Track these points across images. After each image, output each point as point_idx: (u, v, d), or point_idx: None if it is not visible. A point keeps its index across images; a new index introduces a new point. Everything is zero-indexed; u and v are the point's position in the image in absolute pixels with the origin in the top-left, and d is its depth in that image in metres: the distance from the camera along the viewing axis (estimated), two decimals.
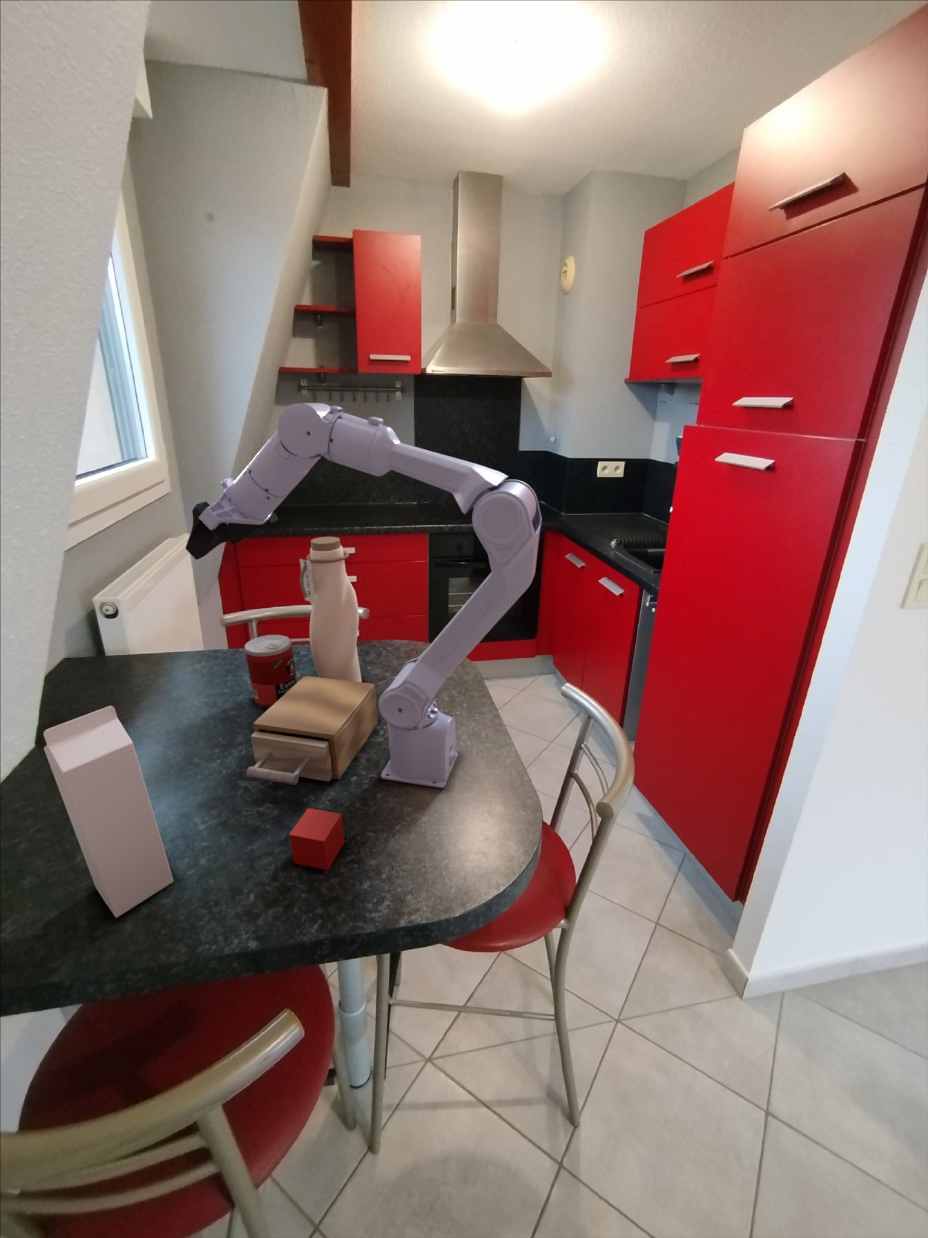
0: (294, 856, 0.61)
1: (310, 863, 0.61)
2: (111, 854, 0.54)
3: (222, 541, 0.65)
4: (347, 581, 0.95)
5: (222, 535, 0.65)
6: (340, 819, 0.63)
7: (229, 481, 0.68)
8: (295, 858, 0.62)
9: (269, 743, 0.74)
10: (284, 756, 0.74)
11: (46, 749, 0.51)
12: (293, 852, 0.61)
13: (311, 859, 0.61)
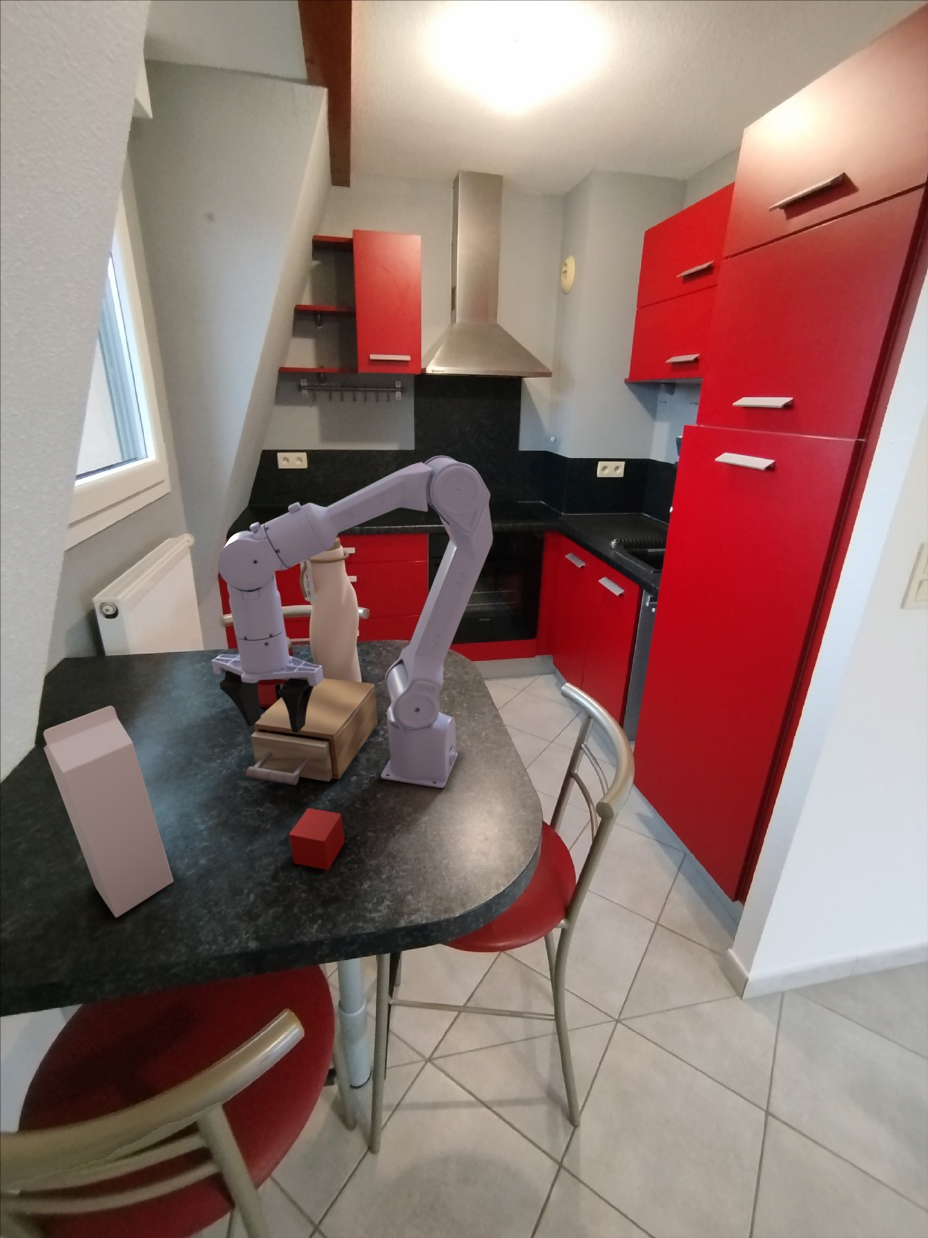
0: (294, 856, 0.61)
1: (310, 863, 0.61)
2: (111, 853, 0.54)
3: None
4: (347, 581, 0.95)
5: None
6: (340, 819, 0.63)
7: (249, 676, 0.64)
8: (295, 858, 0.62)
9: (269, 743, 0.74)
10: (284, 756, 0.74)
11: (46, 749, 0.51)
12: (293, 852, 0.61)
13: (311, 859, 0.61)
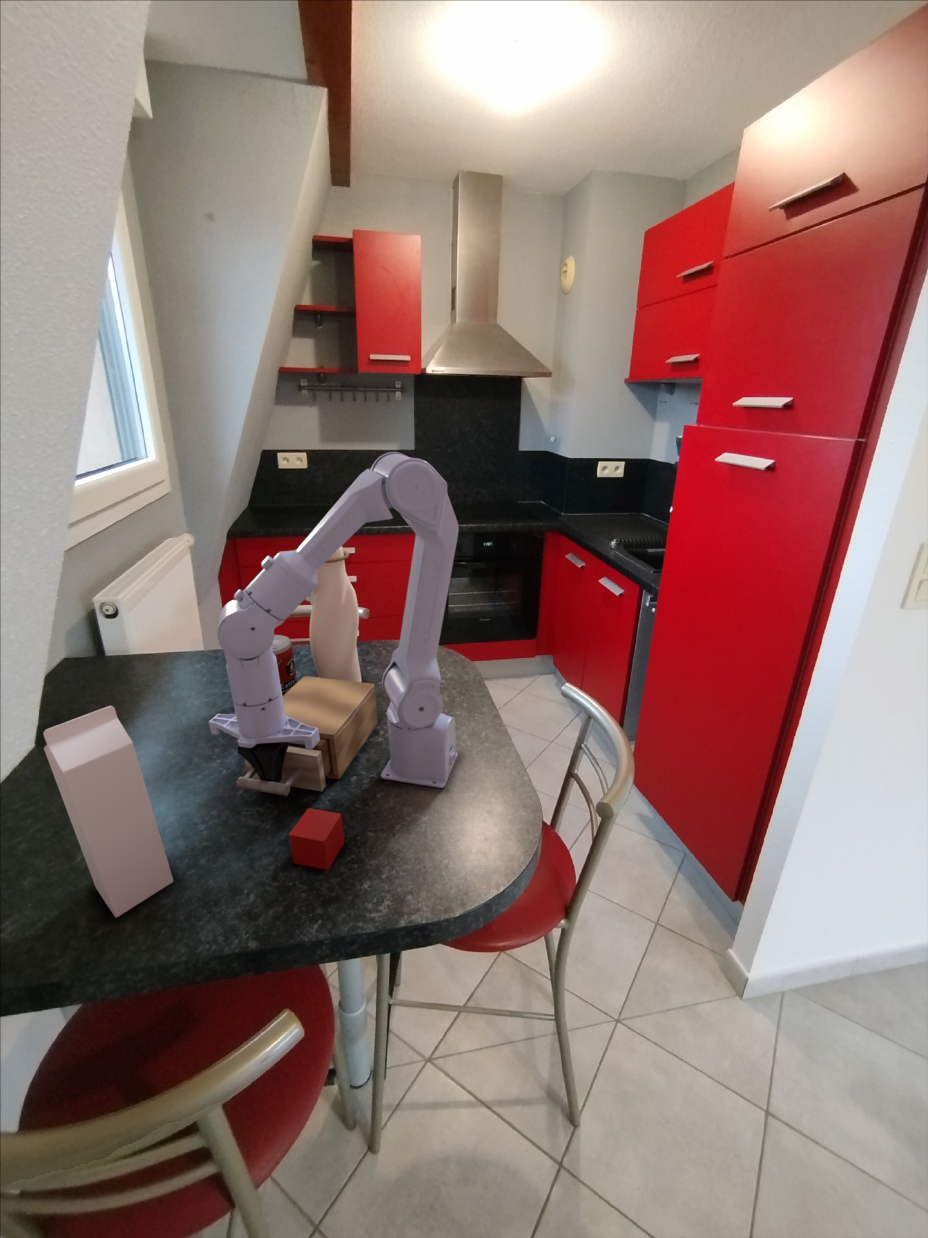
0: (294, 856, 0.61)
1: (310, 863, 0.61)
2: (111, 853, 0.54)
3: None
4: (347, 581, 0.95)
5: None
6: (340, 819, 0.63)
7: (246, 740, 0.64)
8: (295, 858, 0.62)
9: None
10: None
11: (46, 749, 0.51)
12: (293, 852, 0.61)
13: (311, 859, 0.61)
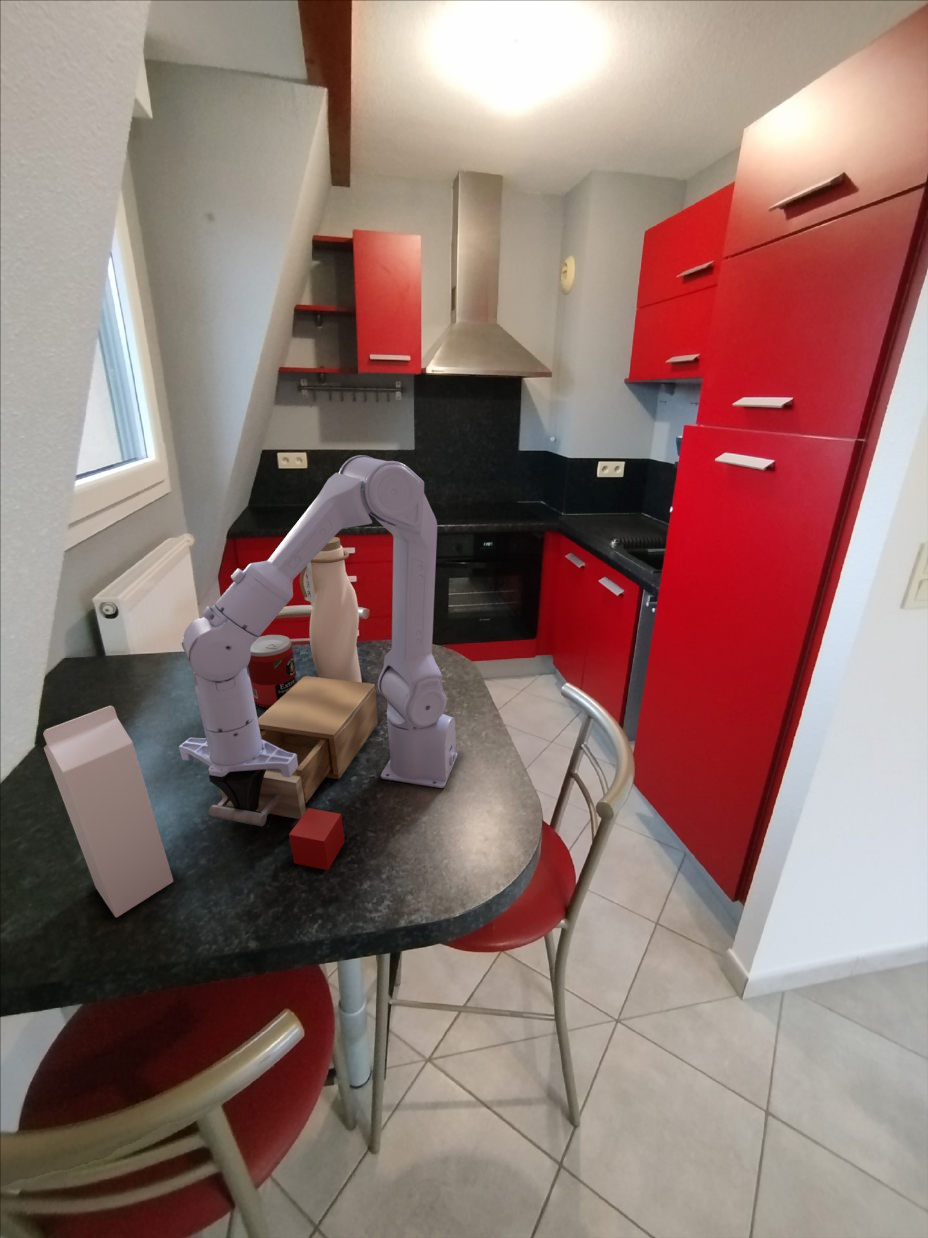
0: (294, 856, 0.61)
1: (310, 863, 0.61)
2: (111, 853, 0.54)
3: None
4: (347, 581, 0.95)
5: None
6: (340, 819, 0.63)
7: (218, 768, 0.59)
8: (295, 858, 0.62)
9: None
10: None
11: (46, 749, 0.51)
12: (293, 852, 0.61)
13: (311, 859, 0.61)
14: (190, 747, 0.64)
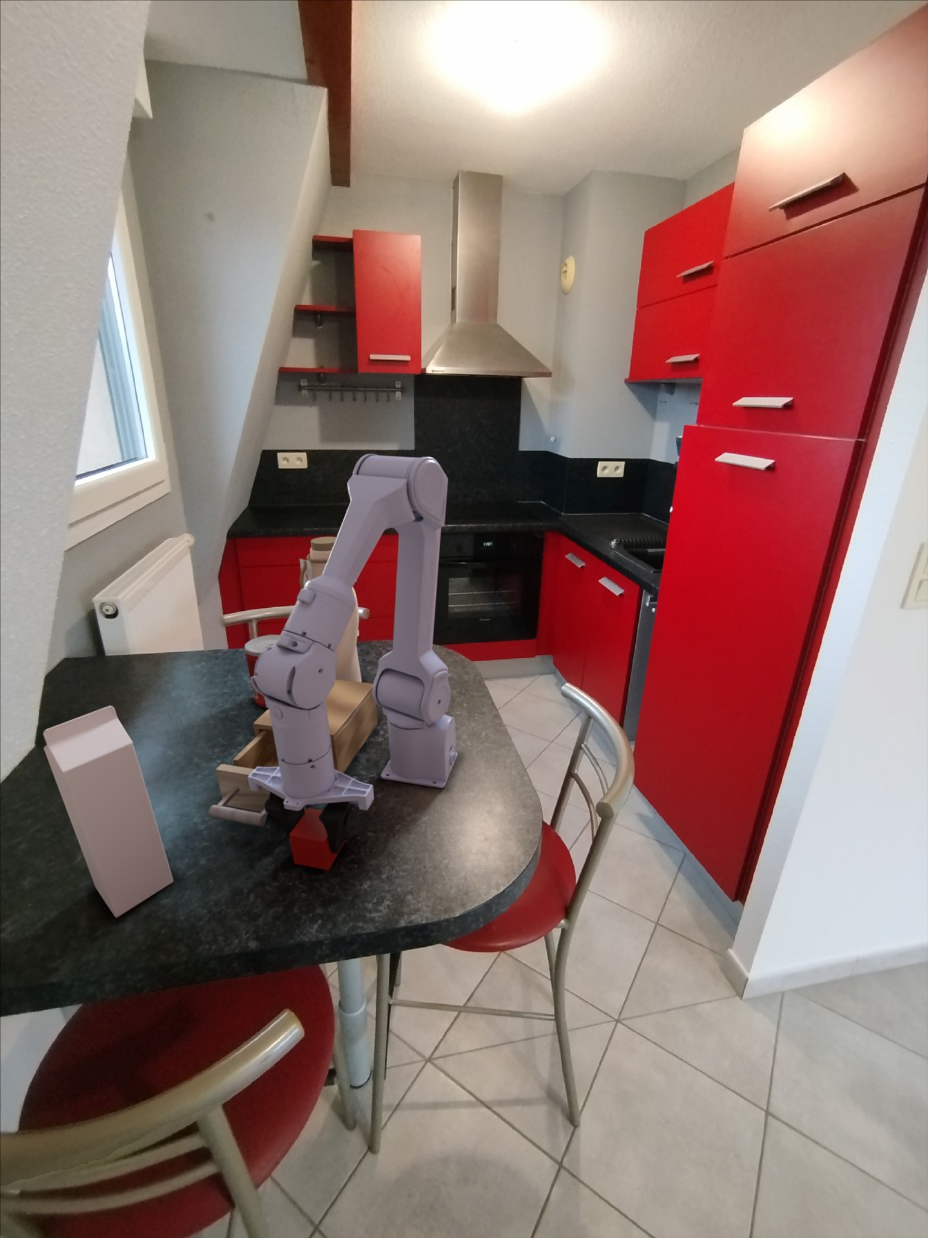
0: (294, 856, 0.61)
1: (310, 863, 0.61)
2: (111, 853, 0.54)
3: None
4: None
5: None
6: None
7: (293, 802, 0.56)
8: (295, 858, 0.62)
9: (236, 777, 0.67)
10: (252, 791, 0.67)
11: (46, 749, 0.51)
12: (294, 852, 0.61)
13: (311, 859, 0.61)
14: (259, 777, 0.61)
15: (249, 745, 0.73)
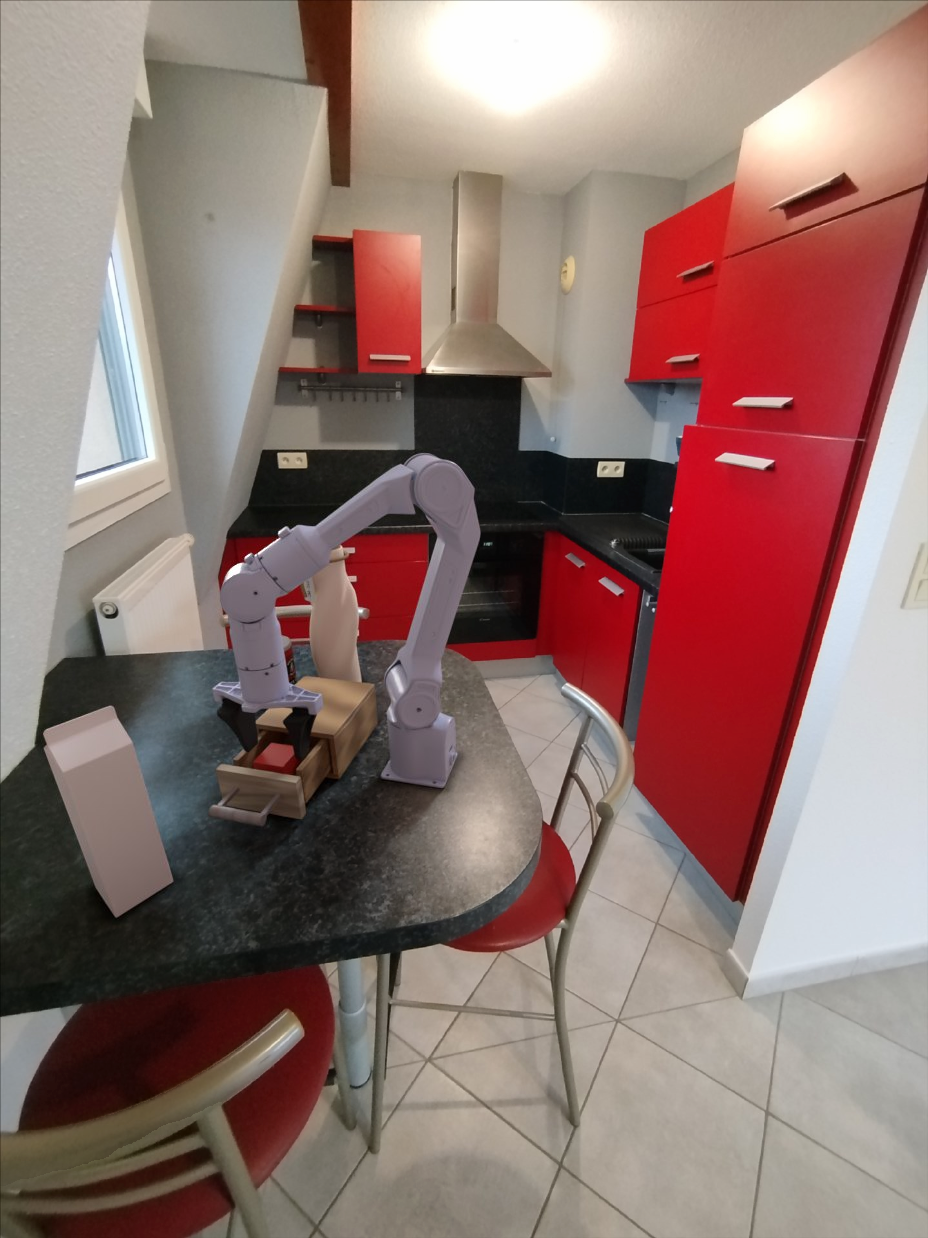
0: None
1: None
2: (111, 853, 0.54)
3: None
4: (347, 581, 0.95)
5: None
6: None
7: (250, 705, 0.64)
8: None
9: (236, 777, 0.67)
10: (252, 791, 0.67)
11: (46, 749, 0.51)
12: None
13: None
14: (222, 689, 0.68)
15: None
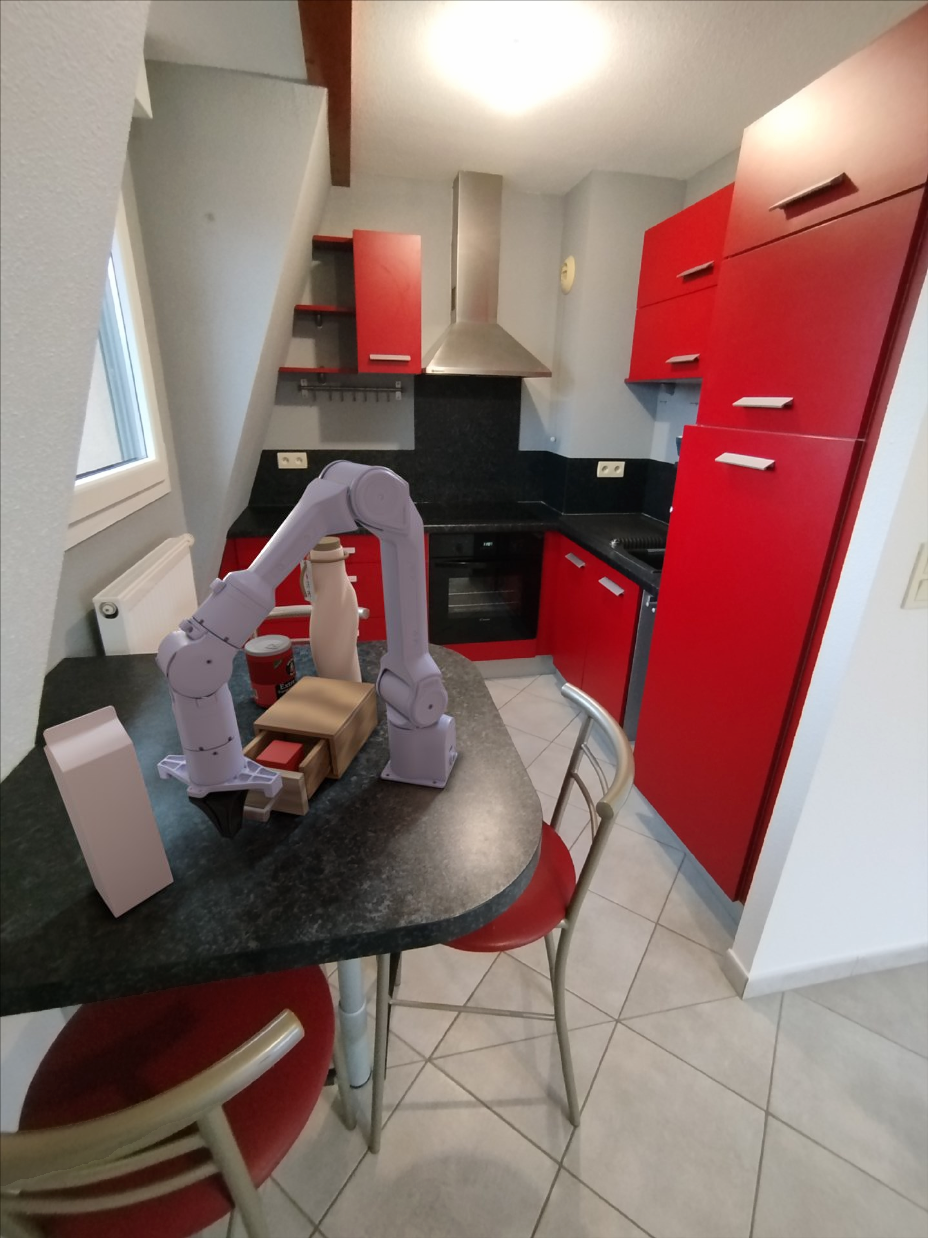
0: None
1: None
2: (111, 853, 0.54)
3: None
4: (347, 581, 0.95)
5: None
6: (301, 748, 0.73)
7: (196, 789, 0.56)
8: None
9: None
10: None
11: (46, 749, 0.51)
12: None
13: None
14: (169, 765, 0.60)
15: (252, 742, 0.73)
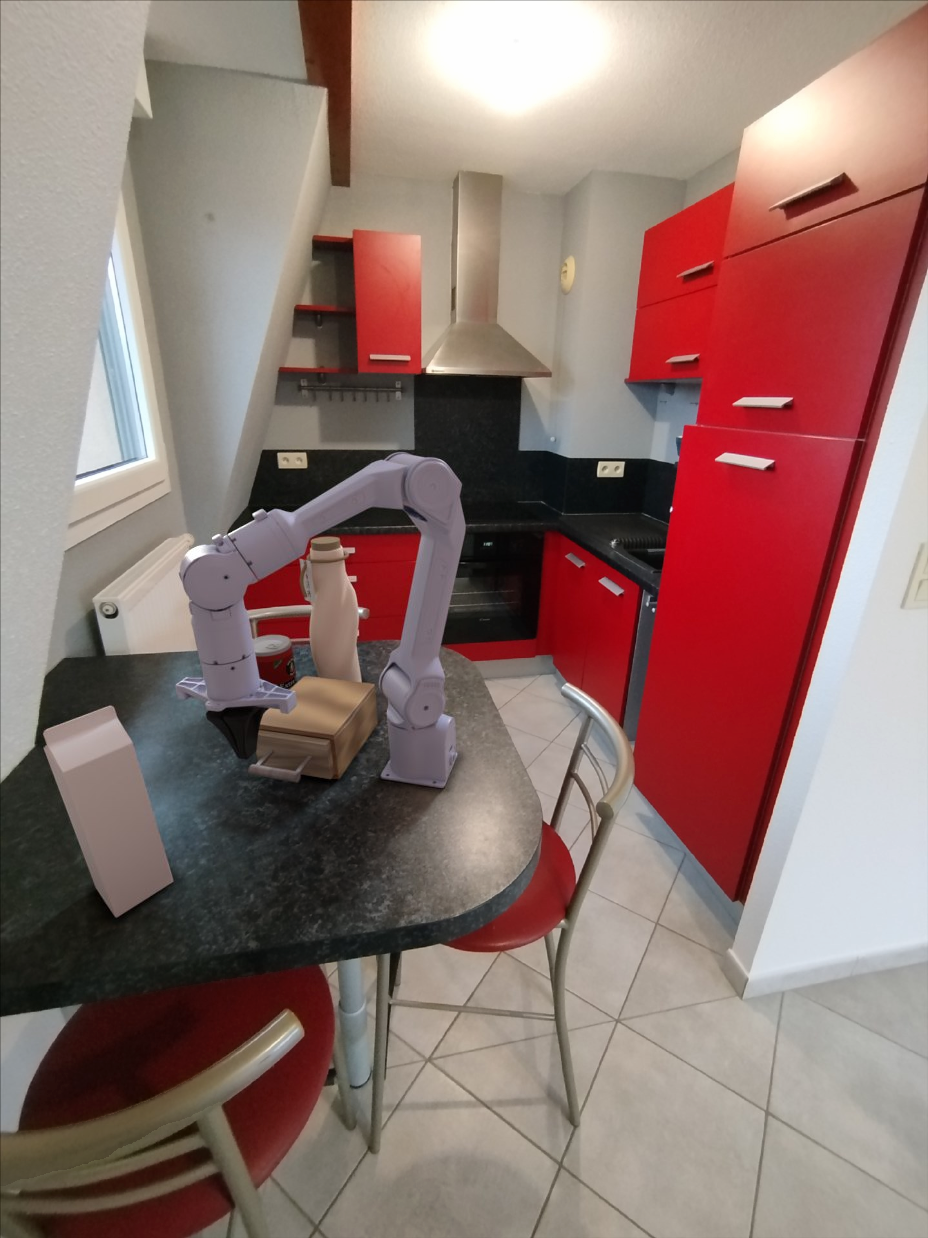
0: None
1: None
2: (111, 853, 0.54)
3: None
4: (347, 581, 0.95)
5: None
6: None
7: (214, 703, 0.58)
8: None
9: (271, 741, 0.74)
10: (285, 754, 0.75)
11: (46, 749, 0.51)
12: None
13: None
14: (186, 686, 0.62)
15: None
